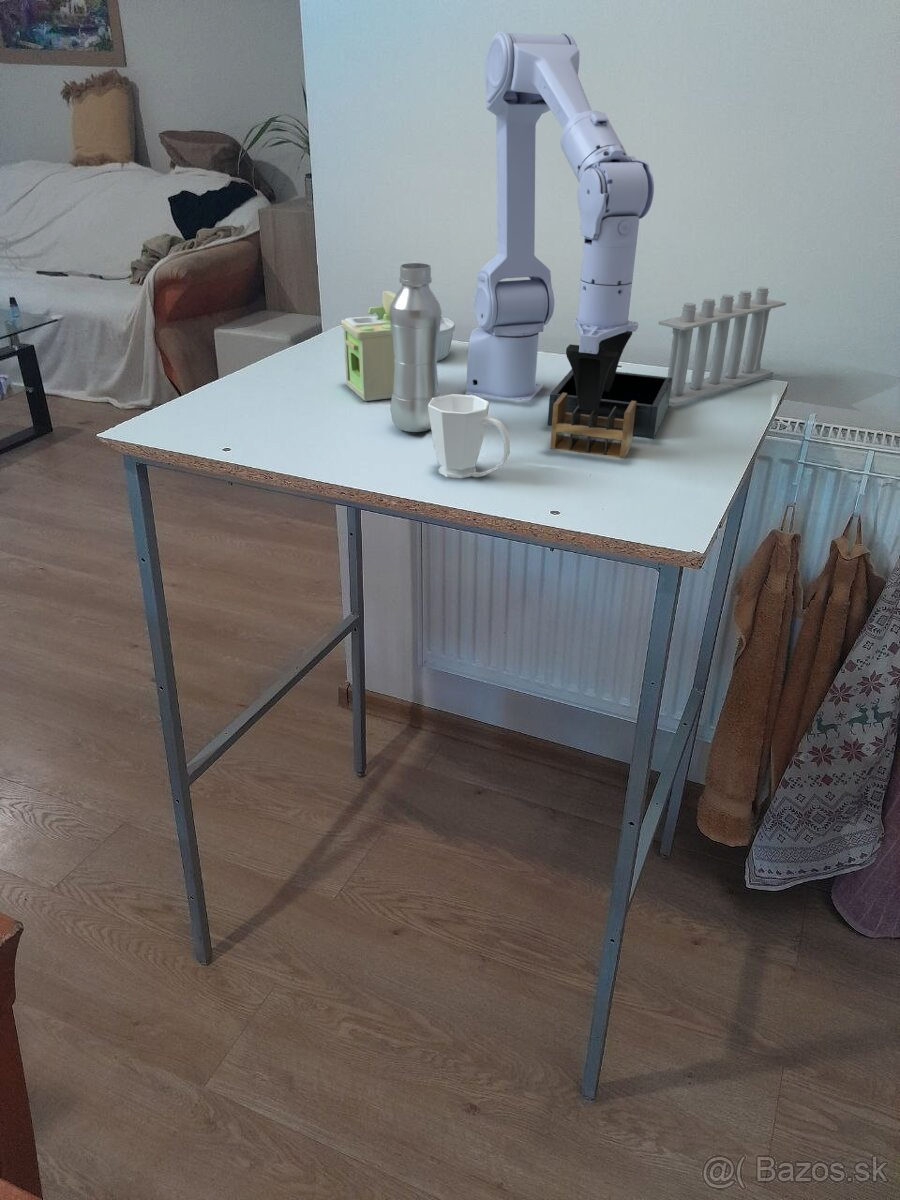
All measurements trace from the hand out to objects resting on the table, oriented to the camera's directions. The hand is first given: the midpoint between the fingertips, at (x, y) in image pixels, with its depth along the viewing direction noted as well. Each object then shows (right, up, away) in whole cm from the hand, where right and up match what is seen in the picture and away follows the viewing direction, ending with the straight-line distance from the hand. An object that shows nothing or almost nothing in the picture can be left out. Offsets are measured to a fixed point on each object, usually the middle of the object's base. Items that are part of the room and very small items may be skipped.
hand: (594, 399), depth 111 cm
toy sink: (-28, +6, +23) cm, 36 cm away
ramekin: (-22, +15, +40) cm, 48 cm away
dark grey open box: (+4, 0, +13) cm, 14 cm away
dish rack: (0, -6, +3) cm, 6 cm away
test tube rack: (+21, +7, +27) cm, 35 cm away
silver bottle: (-21, -2, +9) cm, 23 cm away
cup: (-15, -10, -4) cm, 18 cm away
